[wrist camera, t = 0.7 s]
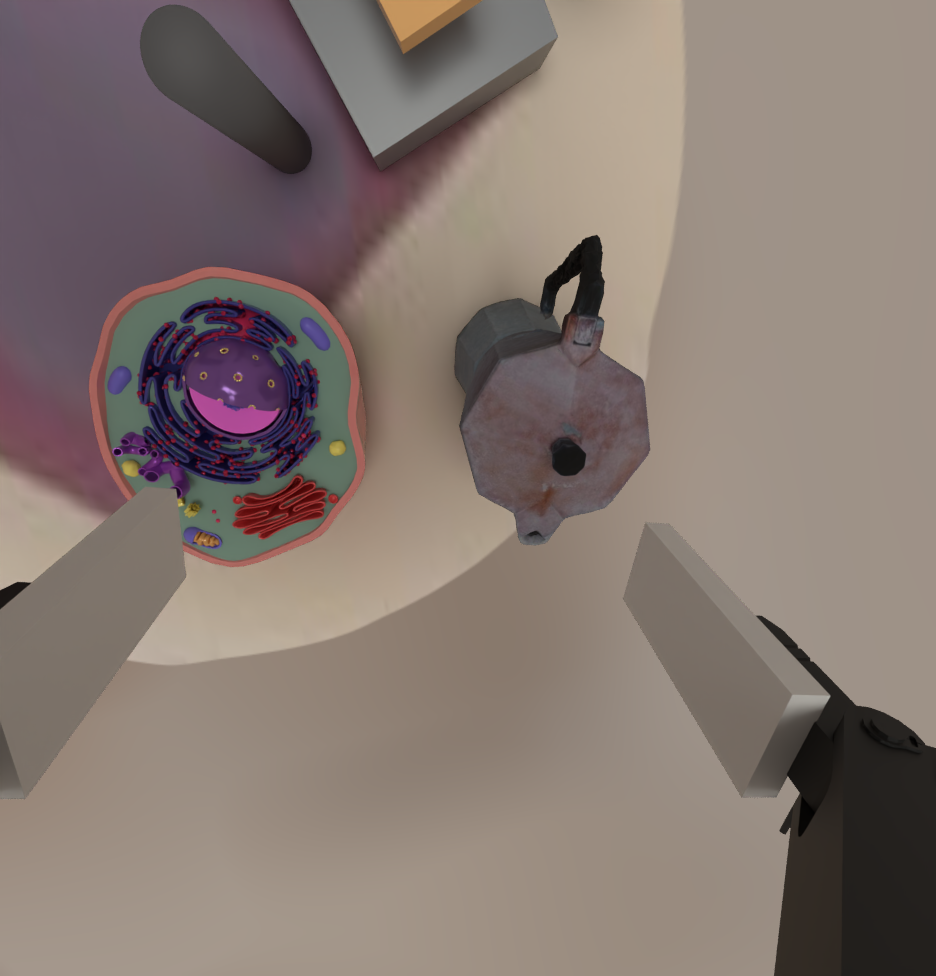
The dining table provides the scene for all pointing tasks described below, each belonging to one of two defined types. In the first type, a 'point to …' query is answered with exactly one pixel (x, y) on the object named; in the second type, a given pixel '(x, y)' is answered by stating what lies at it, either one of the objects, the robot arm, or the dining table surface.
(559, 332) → the moka pot
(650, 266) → the dining table surface
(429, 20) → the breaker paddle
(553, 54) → the dining table surface
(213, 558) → the cell model
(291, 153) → the post
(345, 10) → the block
